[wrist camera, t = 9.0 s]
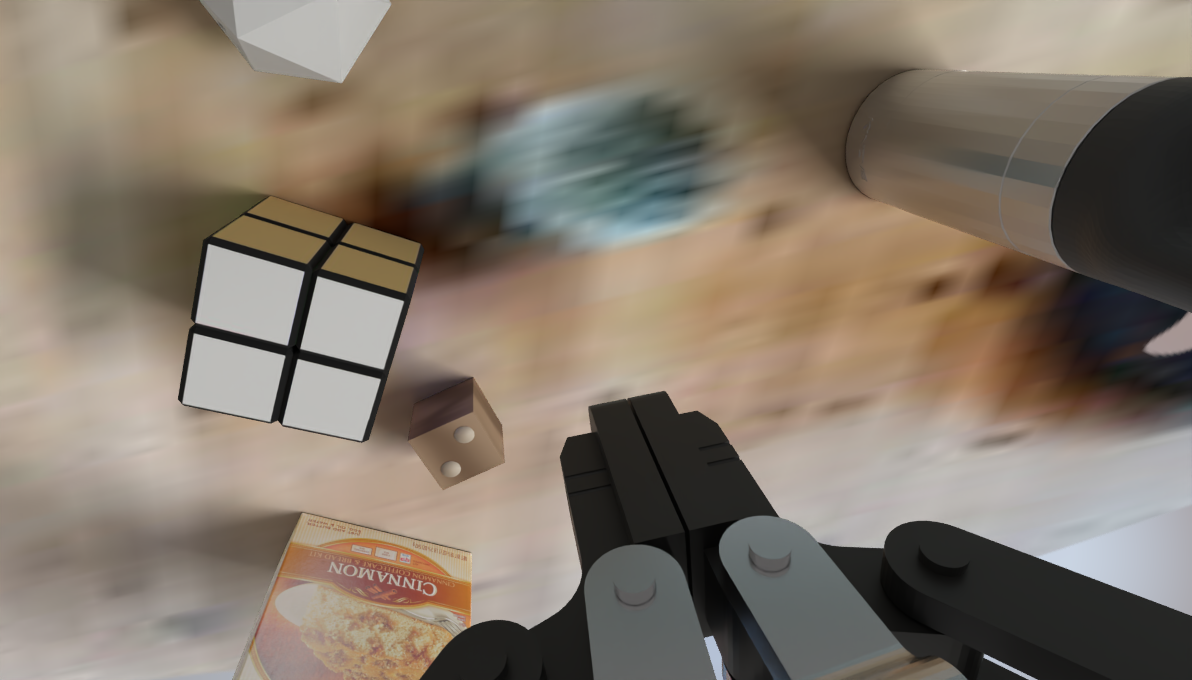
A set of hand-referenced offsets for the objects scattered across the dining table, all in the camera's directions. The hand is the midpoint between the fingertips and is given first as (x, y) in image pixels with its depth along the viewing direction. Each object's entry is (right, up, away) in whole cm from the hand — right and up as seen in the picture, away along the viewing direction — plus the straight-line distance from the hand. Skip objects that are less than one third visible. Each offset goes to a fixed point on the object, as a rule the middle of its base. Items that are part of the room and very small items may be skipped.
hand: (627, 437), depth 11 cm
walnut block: (-11, -4, +35) cm, 37 cm away
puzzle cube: (-19, +6, +29) cm, 35 cm away
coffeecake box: (-20, -17, +40) cm, 48 cm away
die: (-17, +21, +22) cm, 35 cm away
